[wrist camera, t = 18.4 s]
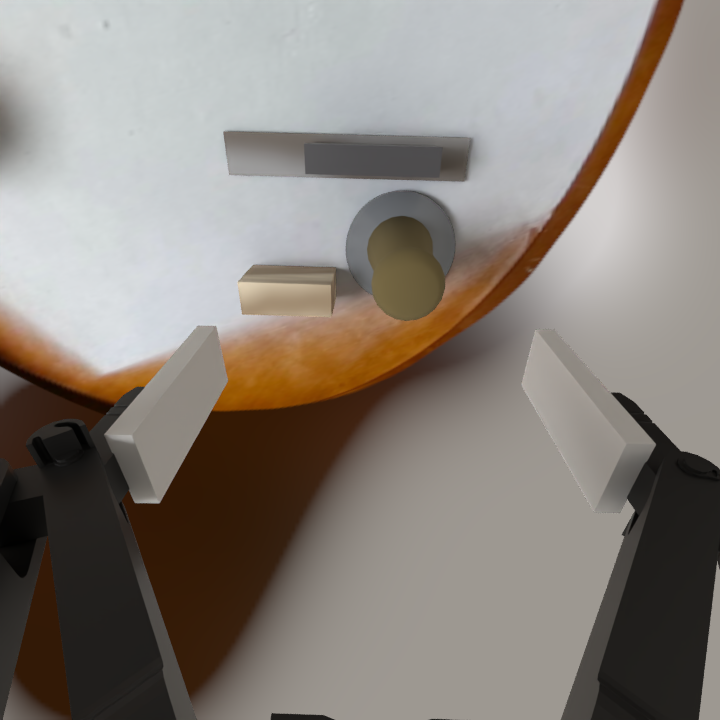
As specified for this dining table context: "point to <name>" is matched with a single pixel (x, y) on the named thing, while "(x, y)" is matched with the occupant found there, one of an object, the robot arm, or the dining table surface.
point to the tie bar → (372, 159)
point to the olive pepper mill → (404, 269)
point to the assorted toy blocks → (286, 158)
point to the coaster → (393, 207)
